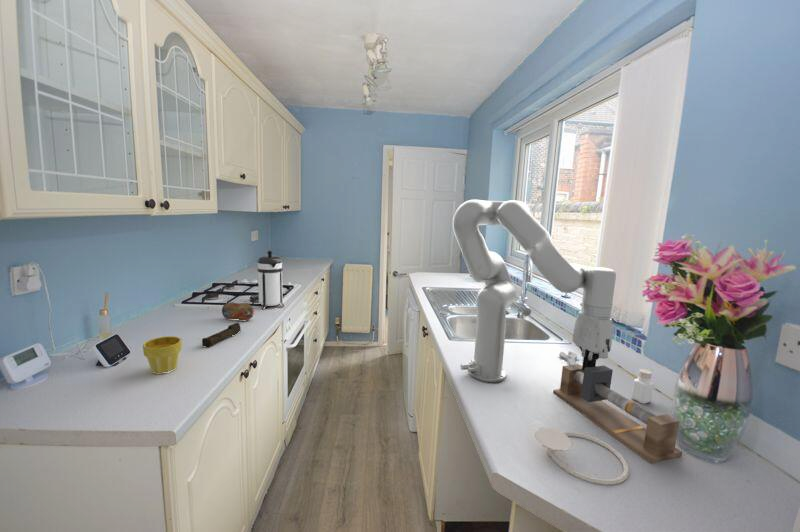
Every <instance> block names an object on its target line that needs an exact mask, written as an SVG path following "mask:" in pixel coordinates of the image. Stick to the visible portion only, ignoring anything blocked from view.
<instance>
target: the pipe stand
mask: <svg viewBox="0 0 800 532" xmlns="http://www.w3.org/2000/svg"><path fill="white" fill-rule="evenodd" d="M583 376H584V371H583V370H582V365H581V364H580V363H576V364H575V365H569V364H567V365H562V370H561V378H560V386H559V388H556V389H553V392H552V393H553V394H554V395H555V396H557V397H558V398H560V399H561V400H562V401H564V402H565V403H566V404H568V405H569V406H570V407H572V408H573V409H575V410H576V411H577V412H579V413H580V414H582V415H583V416H585V417H586V418H587V419H589V421H592V422H593V423H594V424H595V425H597V426H598V427H600V428H601V429H602V430H604V431H605V432H606V433H608V434H609V435H610V436H612V437H613V438H615V439H616V440H618V441H619V442H620V443H621V444H623V445H625V446H626V447H627V448H628V449H630V450H631V451H633V452H634V453H635V454H637V455H638V456H640V457H641V458H642V459H643V460H645V461H646V462H648V463H649V464H652V463H656V462H661V461H665V460H669V459H674V458H677V457H678V458H679V457H681V456H682V455H683V451H681V450H680V449H679V448H677V447H676V443H677V439H678V433H679V428H680V427H679V426H680V420H679V419H678V418H675V417H673V415H672V416H671V415H670V414H667V413H666V414H665V413H664V414H659V415H656V414H654V413H652V412H650V411H648V409H647V410H646V409H645V408H643V407H641V406H640V405H638V404H637V403H635V402H634V401H632V400H630V399H628V398H626V397H625V396H623V395H622V394H620V393H618V392H616V391H615V390H612V389H611V388H610V389H609V388H608V387H606V386H604V385H602V384H601V383H597V384H596V385H595V393H597V394H598V395H600V396H602V397H603V398H605V399H606V400H605V401H607V402H609V403H612V404H613V405H615V406H616V407H618V408H619V409H621V410H622V411H624V412H625V413H627V414H629V415H630V416H632V417H634V418H636V419H637V420H639V421H640V422H641V423H643V424H645V425H646V427H644V426H643V425H640V424H639V423H637V421H634V420H633V419H631V418H630V417H628V416H627V415H625V414H624V413H622V412H620V411H619V410H617V409H616V408H614V407H612V406H611V405H609V404H608V403H606V402H605V401H604V400H601V401H595V402H588V401H586V400H585V399H583V398H582V397H581V391H582V384H583Z"/></svg>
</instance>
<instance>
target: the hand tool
mask: <svg viewBox="0 0 800 532" xmlns="http://www.w3.org/2000/svg"><path fill="white" fill-rule="evenodd" d="M227 326H228V327H227V328H225V329H223V330H222V331H219V332H217V333H214V334H211V335H210V336H208V337H203V338H202V339H201V345H202V346H206V347H205V348H211V347H212V346H214V345H215V344H217V343H219V342H221V341H224V340H225V339H228V338H229V337H233V336H232V335H235V334H237V333H238V332H239V331H240V332H241V324H240V323H239V322H235V323H232V324H230V325H227ZM240 332H239V333H240ZM239 333H238V334H239ZM238 334H237V335H238ZM235 336H236V335H235Z"/></svg>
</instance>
